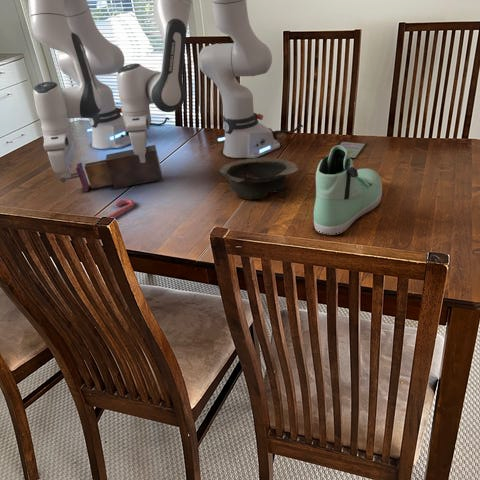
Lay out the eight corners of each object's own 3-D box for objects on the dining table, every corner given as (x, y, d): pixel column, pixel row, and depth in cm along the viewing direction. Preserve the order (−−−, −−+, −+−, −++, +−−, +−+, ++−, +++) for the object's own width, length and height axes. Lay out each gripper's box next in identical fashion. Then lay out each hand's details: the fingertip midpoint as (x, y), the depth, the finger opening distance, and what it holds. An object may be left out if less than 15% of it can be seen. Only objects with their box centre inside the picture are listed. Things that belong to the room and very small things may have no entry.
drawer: (65, 195, 161) (57, 172, 157) (67, 190, 165) (59, 167, 161) (129, 182, 163) (122, 159, 158) (129, 177, 167) (123, 154, 162)
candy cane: (88, 221, 143) (87, 216, 143) (125, 200, 153) (124, 196, 153) (102, 225, 140) (101, 221, 139) (138, 204, 150) (137, 200, 150)
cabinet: (114, 189, 162) (105, 160, 157) (115, 182, 167) (106, 154, 162) (162, 179, 163) (155, 150, 158) (162, 172, 168) (155, 144, 163)
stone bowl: (243, 213, 140) (240, 183, 136) (209, 189, 160) (205, 162, 156) (313, 190, 149) (312, 161, 144) (272, 170, 169) (270, 144, 165)
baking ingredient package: (331, 154, 173) (342, 141, 184) (330, 155, 173) (342, 142, 185) (355, 156, 169) (365, 143, 181) (355, 158, 170) (365, 144, 181)
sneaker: (389, 187, 148) (396, 123, 138) (356, 242, 123) (361, 168, 112) (346, 181, 154) (350, 119, 144) (306, 232, 129) (307, 161, 118)
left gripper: (54, 127, 162) (64, 166, 168) (42, 147, 144) (54, 189, 151) (73, 125, 162) (82, 164, 169) (63, 144, 145) (74, 186, 152)
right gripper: (128, 110, 163) (135, 148, 170) (125, 127, 146) (132, 170, 153) (147, 108, 164) (153, 147, 171) (146, 126, 146) (152, 168, 153)
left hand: (69, 176), depth 160 cm, fingers closed
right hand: (143, 158), depth 162 cm, fingers closed on cabinet, 6 cm apart
